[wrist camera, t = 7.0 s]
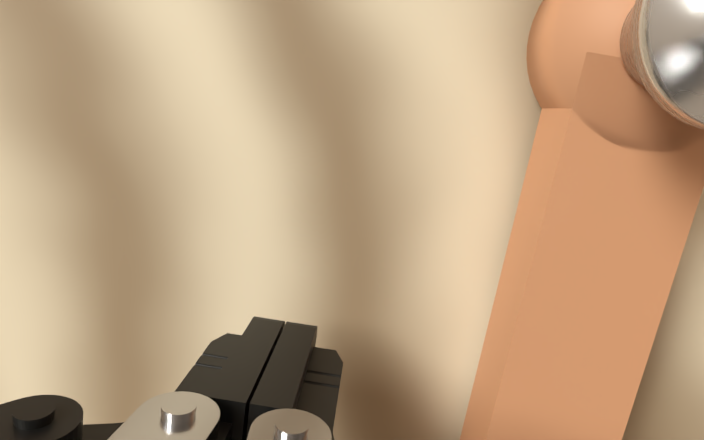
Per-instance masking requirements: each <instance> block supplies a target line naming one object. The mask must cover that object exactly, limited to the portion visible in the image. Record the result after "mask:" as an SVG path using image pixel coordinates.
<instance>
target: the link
mask: <svg viewBox="0 0 704 440" xmlns="http://www.w3.org/2000/svg"><path fill="white" fill-rule="evenodd" d="M635 1H636V0H543V1H542V3H541V5H540V6H539V8H538V10H537V13H536V15H535V17H534V19H533V22H532V26H531V29H530V32H529V37H528V43H527V57H526V60H527V72H528V76H529V81H530V85H531V87H532V90H533V93H534V96H535V97H536V99H537V101H538V103H539V105H540V107H541V108H542V110H541V114H540V118H539V122H538V126H537V130H536V134H535V138H534V142H533V146H532V150H531V154H530V158H529V162H528V166H527V170H526V174H525V178H524V182H523V186H522V190H521V194H520V198H519V202H518V206H517V210H516V214H515V218H514V222H513V227H512V231H511V235H510V239H509V243H508V247H507V251H506V255H505V259H504V263H503V267H502V271H501V275H500V279H499V283H498V287H497V291H496V295H495V299H494V303H493V307H492V311H491V315H490V319H489V323H488V327H487V331H486V335H485V339H484V343H483V347H482V352H481V356H480V360H479V364H478V368H477V372H476V376H475V380H474V384H473V388H472V392H471V396H470V400H469V404H468V408H467V412H466V416H465V420H464V424H463V428H462V432H461V436H460V440H622V438H623V435H624V431H625V428H626V425H627V422H628V419H629V416H630V413H631V410H632V407H633V404H634V401H635V397H636V394H637V391H638V388H639V385H640V382H641V379H642V376H643V373H644V370H645V367H646V364H647V360H648V357H649V354H650V351H651V348H652V345H653V342H654V339H655V336H656V333H657V330H658V326H659V323H660V320H661V317H662V314H663V311H664V308H665V305H666V302H667V299H668V296H669V293H670V289H671V286H672V283H673V280H674V277H675V274H676V271H677V268H678V265H679V262H680V259H681V255H682V252H683V249H684V246H685V243H686V240H687V237H688V234H689V231H690V228H691V225H692V222H693V218H694V215H695V212H696V209H697V206H698V203H699V200H700V197H701V194H702V191H703V188H704V129H700V128H696V127H694V126H691V125H688V124H686V123H684V122H682V121H680V120H678V119H676V118H675V117H673V116H672V115H670V114H669V113H668V112H666V111H665V110H664V109H663V108H662V107H661V106H660V105H659V104H658V103H657V102H656V101H655V100H654V99H653V98H652V96H651V95H650V94H649V92H648V91H647V90H646V88H645V86H643V85H641V84H640V83H638V82H637V81H636V80H635V79H634V78H633V77H632V76H631V75H630V74H629V72H628V71H627V70H626V68H625V66H624V64H623V61H622V58H621V53H620V34H621V29H622V26H623V23H624V21H625V19H626V16H627V15H628V13H629V11H630V10H631V8H632V7H633V6H634V5H635Z"/></svg>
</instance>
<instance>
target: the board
mask: <svg viewBox="0 0 704 440" xmlns="http://www.w3.org/2000/svg"><path fill="white" fill-rule="evenodd" d="M542 1H543V0H0V404H3V403H7V402H10V401H13V400H17V399H21V398H25V397H29V396H35V395H60V396H65V397H68V398H71V399H73V400H75V401H77V402H78V403H79V404H80V405H81V407H82V408H83V425H85V424H107V423H122V422H125V421H126V420H127V419H128V418H129V417H130V416H131V415H132V414H133V413H134V412H135V410H136V409H137V408H138V407H139V406H140V405H142V404H143V403H144V402H145V401H147V400H148V399H150V398H152V397H155V396H157V395H160V394H164V393H169V392H175V390H176V389H177V387H178V386H179V385H180V383H181V382H182V381H183V379H184V378H185V377H186V375H187V374H188V372H189V371H190V370H191V368H192V367H193V366H194V365H195V364H196V362H197V360H198V359H199V357H200V356H201V355H202V354H203V352H204V351H205V349H206V348H207V347H208V345H209V344H210V342H211V341H213V340H215V339H217V338H219V337H221V336H223V335H225V334H226V333H230V334H237V335H242V334H243V333H244V331H245V329H246V328H247V326H248V325H249V323H250V321H251V320H252V318H253V317H254V316H256V317H262V318H269V319H275V320H281V321H285V324H286V322H287V321H288V322H294V323H301V324H307V325H313V326H317V338H316V345H315V347H318V348H325V349H331V350H336V351H337V353H338V355H339V356H340V358H341V360H342V361H343V368H342V374H341V381H340V388H339V394H338V401H337V407H336V414H335V420H334V427H333V436H334V440H460V436H461V432H462V428H463V424H464V420H465V416H466V412H467V408H468V404H469V400H470V396H471V392H472V388H473V384H474V380H475V376H476V372H477V368H478V364H479V360H480V356H481V352H482V347H483V343H484V339H485V335H486V331H487V327H488V323H489V319H490V315H491V311H492V307H493V303H494V299H495V295H496V291H497V287H498V283H499V279H500V275H501V271H502V267H503V263H504V259H505V255H506V251H507V247H508V243H509V239H510V235H511V231H512V227H513V222H514V218H515V214H516V210H517V206H518V202H519V198H520V194H521V190H522V186H523V182H524V178H525V174H526V170H527V166H528V162H529V158H530V154H531V150H532V146H533V142H534V138H535V134H536V130H537V126H538V122H539V118H540V114H541V110H542V108H541V107H540V105H539V103H538V101H537V99H536V97H535V96H534V93H533V90H532V87H531V85H530V81H529V76H528V72H527V60H526V57H527V43H528V37H529V32H530V29H531V26H532V22H533V19H534V17H535V15H536V13H537V10H538V8H539V6H540V5H541V3H542ZM622 440H704V188H703V191H702V194H701V197H700V200H699V203H698V206H697V209H696V212H695V215H694V218H693V222H692V225H691V228H690V231H689V234H688V237H687V240H686V243H685V246H684V249H683V252H682V255H681V259H680V262H679V265H678V268H677V271H676V274H675V277H674V280H673V283H672V286H671V289H670V293H669V296H668V299H667V302H666V305H665V308H664V311H663V314H662V317H661V320H660V323H659V326H658V330H657V333H656V336H655V339H654V342H653V345H652V348H651V351H650V354H649V357H648V360H647V364H646V367H645V370H644V373H643V376H642V379H641V382H640V385H639V388H638V391H637V394H636V397H635V401H634V404H633V407H632V410H631V413H630V416H629V419H628V422H627V425H626V428H625V431H624V435H623V438H622Z"/></svg>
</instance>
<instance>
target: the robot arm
mask: <svg viewBox="0 0 704 440" xmlns="http://www.w3.org/2000/svg"><path fill="white" fill-rule="evenodd" d="M316 338H317V326H313V325H307V324H301V323H294V322H288V321H287V322H286V324H285V321H281V320H275V319H269V318H262V317H256V316H254V317H253V318H252V320H251V321H250V323H249V325H248V326H247V328H246V329H245V331H244V333H243V334H242V335H237V334H230V333H226V334H225V335H223V336H221V337H219V338H217V339H215V340H213V341H211V342H210V344H209V345H208V347H207V348H206V349H205V351H204V352H203V354H202V355H201V356H200V357H199V359H198V360H197V362H196V364H195V365H194V366H193V367H192V368H191V370H190V371H189V372H188V374H187V375H186V377H185V378H184V379H183V381H182V382H181V383H180V385H179V386H178V387H177V389H176V390H175V392H169V393H164V394H160V395H157V396H155V397H152V398H150V399H148V400H147V401H145V402H144V403H143V404H142V405H140V406H139V407H138V408H137V409H136V410H135V412H134V413H133V414H132V415H131V416H130V417H129V418H128V419H127V420H126V421H125V422H122V423H107V424H85V425H83V408H82V407H81V405H80V404H79V403H78V402H77V401H75V400H73V399H71V398H68V397H65V396H60V395H35V396H29V397H25V398H21V399H17V400H13V401H10V402H7V403H3V404H0V440H334V436H333V427H334V420H335V414H336V407H337V401H338V394H339V388H340V381H341V374H342V368H343V361H342V360H341V358H340V356H339V355H338V353H337V351H336V350H331V349H325V348H318V347H315V345H316Z"/></svg>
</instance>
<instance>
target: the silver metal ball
mask: <svg viewBox="0 0 704 440" xmlns="http://www.w3.org/2000/svg"><path fill="white" fill-rule="evenodd" d="M620 53H621V58H622V61H623V64H624V66H625V68H626V70H627V71H628V72H629V74H630V75H631V76H632V77H633V78H634V79H635V80H636V81H637V82H638V83H640V84H641V85H643V86H645V88H646V90H647V91H648V92H649V94H650V95H651V96H652V98H653V99H654V100H655V101H656V102H657V103H658V104H659V105H660V106H661V107H662V108H663V109H664V110H665V111H666V112H668V113H669V114H670V115H672V116H673V117H675V118H676V119H678V120H680V121H682V122H684V123H686V124H688V125H691V126H694V127H696V128H700V129H704V0H636V1H635V5H634V6H633V7H632V8H631V10H630V11H629V13H628V15H627V16H626V19H625V21H624V23H623V26H622V29H621V34H620Z"/></svg>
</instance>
